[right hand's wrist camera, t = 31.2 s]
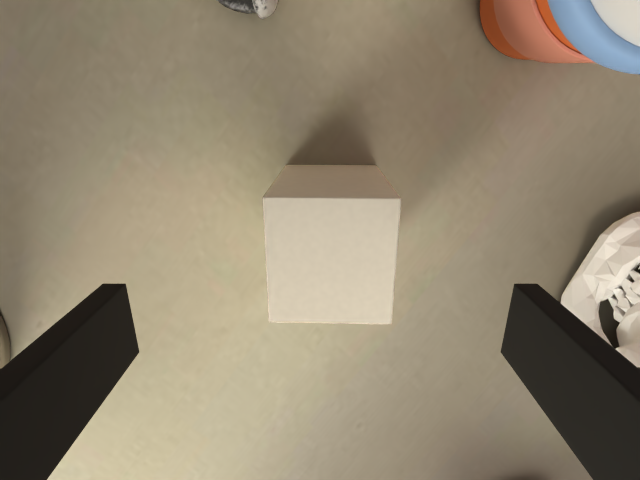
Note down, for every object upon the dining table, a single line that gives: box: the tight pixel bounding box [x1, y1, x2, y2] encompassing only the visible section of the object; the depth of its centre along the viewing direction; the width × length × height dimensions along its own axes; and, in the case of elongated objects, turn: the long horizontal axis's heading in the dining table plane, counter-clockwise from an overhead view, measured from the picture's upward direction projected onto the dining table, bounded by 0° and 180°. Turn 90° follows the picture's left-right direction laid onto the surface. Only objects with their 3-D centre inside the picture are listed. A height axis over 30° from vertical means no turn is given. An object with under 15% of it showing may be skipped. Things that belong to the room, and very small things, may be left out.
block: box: [263, 165, 401, 324], centre depth 22 cm, size 6×6×9 cm
